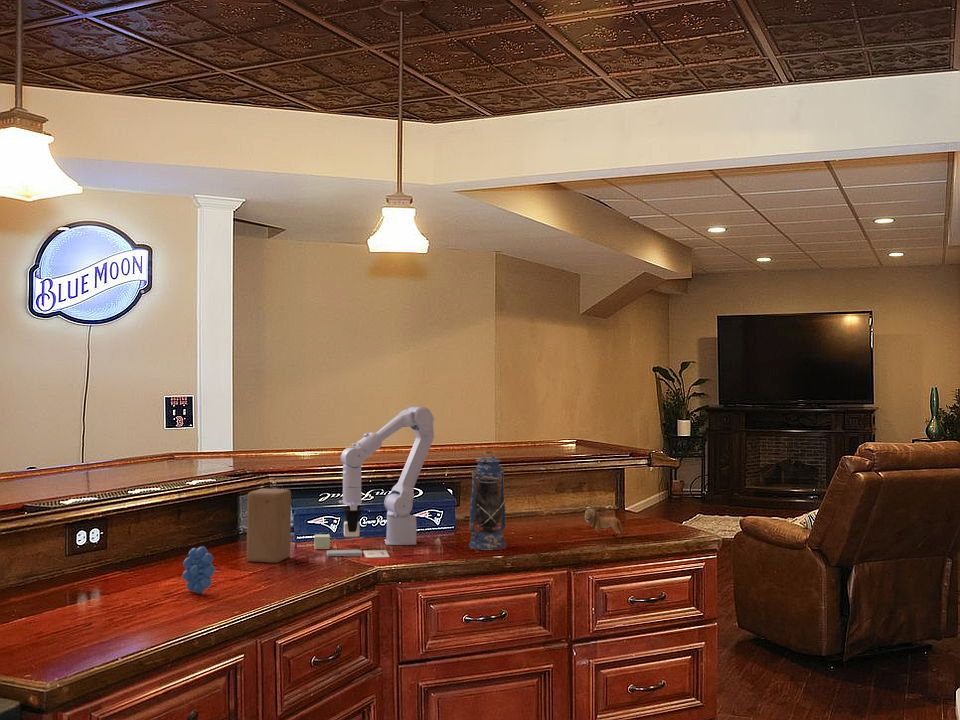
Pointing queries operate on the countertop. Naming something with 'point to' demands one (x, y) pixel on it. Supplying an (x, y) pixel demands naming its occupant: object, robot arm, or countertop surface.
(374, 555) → the page
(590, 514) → the lion figurine
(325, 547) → the pale green cube
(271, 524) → the wooden block
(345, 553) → the base brick
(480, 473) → the lantern
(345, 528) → the brick
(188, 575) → the grapes
